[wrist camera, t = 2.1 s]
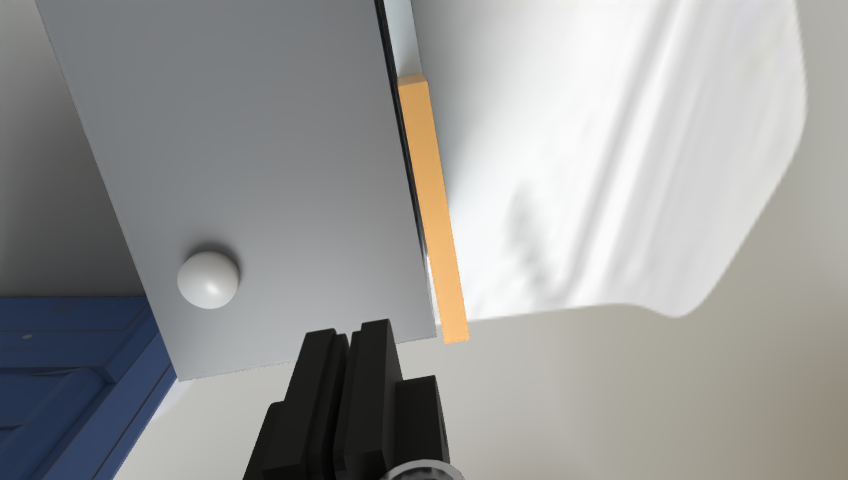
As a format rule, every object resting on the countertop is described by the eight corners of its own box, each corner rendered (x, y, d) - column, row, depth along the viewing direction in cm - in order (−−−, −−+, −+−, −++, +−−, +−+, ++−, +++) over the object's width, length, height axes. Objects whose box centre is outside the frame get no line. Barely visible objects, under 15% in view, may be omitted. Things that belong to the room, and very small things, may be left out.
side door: (379, -35, 24) (367, -81, 14) (398, -38, 24) (399, -87, 14) (427, 231, 28) (444, 344, 18) (443, 228, 28) (469, 339, 18)
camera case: (128, -40, 24) (-6, -75, 16) (363, -84, 24) (346, -142, 16) (234, 292, 29) (173, 391, 21) (426, 258, 29) (437, 345, 21)
